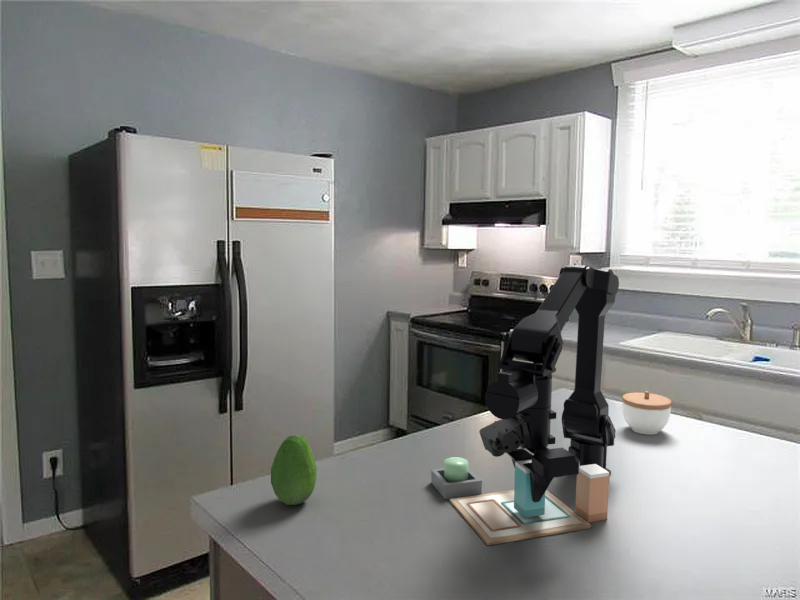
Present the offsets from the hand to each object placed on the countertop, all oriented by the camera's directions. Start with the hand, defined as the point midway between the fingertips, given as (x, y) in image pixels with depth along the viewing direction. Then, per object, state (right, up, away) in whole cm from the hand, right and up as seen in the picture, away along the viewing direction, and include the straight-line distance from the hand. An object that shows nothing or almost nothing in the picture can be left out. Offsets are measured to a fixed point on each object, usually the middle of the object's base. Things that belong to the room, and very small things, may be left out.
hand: (529, 496), depth 95 cm
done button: (-11, 0, +11) cm, 16 cm away
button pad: (-11, -2, +11) cm, 16 cm away
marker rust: (+10, -4, +1) cm, 11 cm away
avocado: (-40, -3, +6) cm, 40 cm away
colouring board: (-2, -4, +2) cm, 4 cm away
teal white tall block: (0, -3, 0) cm, 3 cm away
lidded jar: (+37, +1, +43) cm, 56 cm away
